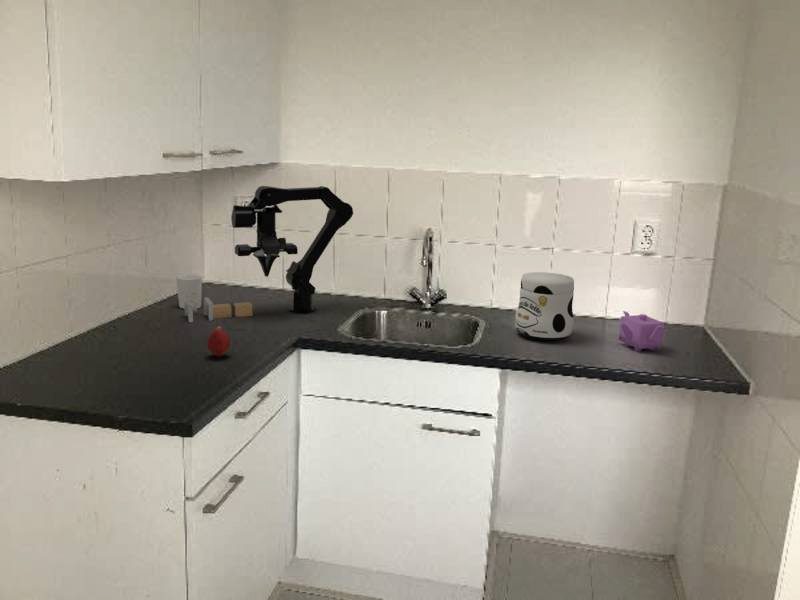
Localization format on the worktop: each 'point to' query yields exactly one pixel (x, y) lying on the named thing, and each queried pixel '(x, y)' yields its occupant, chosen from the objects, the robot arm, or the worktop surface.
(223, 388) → the worktop surface
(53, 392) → the worktop surface
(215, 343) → the onion
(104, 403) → the worktop surface
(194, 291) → the white cup
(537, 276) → the milk container
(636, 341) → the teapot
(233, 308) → the taped cardboard box
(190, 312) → the gray bracket rail
